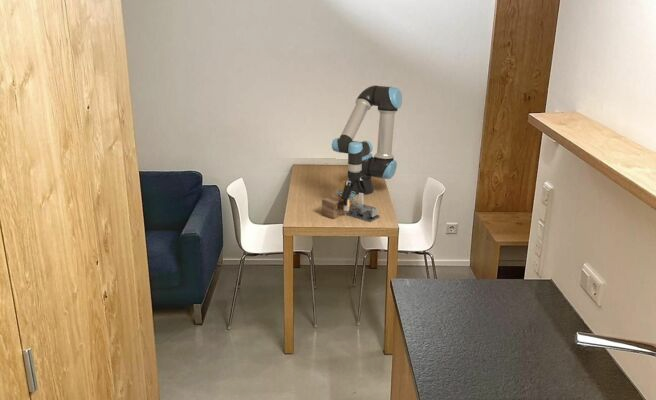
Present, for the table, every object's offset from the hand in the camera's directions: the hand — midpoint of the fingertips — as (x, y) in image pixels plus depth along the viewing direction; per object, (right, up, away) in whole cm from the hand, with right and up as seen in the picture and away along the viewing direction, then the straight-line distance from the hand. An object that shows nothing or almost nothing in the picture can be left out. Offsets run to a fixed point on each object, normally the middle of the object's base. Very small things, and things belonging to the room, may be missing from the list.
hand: (353, 207), depth 340 cm
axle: (+5, -3, -3) cm, 7 cm away
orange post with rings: (-4, 0, +13) cm, 13 cm away
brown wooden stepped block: (-11, -4, -1) cm, 11 cm away
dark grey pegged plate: (+4, -5, -2) cm, 7 cm away
